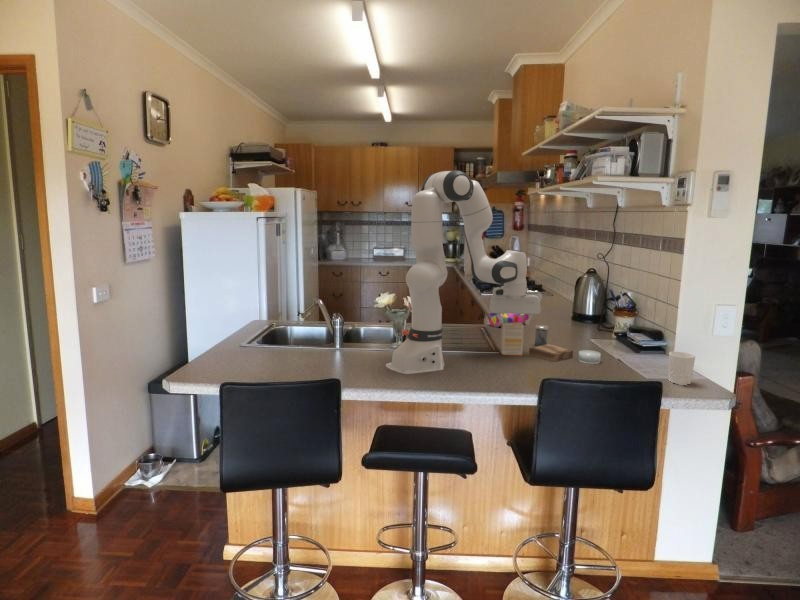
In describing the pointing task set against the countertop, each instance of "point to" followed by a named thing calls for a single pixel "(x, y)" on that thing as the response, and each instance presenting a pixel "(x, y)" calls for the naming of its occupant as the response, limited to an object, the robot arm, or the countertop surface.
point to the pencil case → (507, 318)
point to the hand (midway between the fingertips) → (514, 324)
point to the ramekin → (589, 356)
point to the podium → (551, 352)
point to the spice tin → (541, 335)
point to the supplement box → (512, 339)
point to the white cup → (680, 367)
